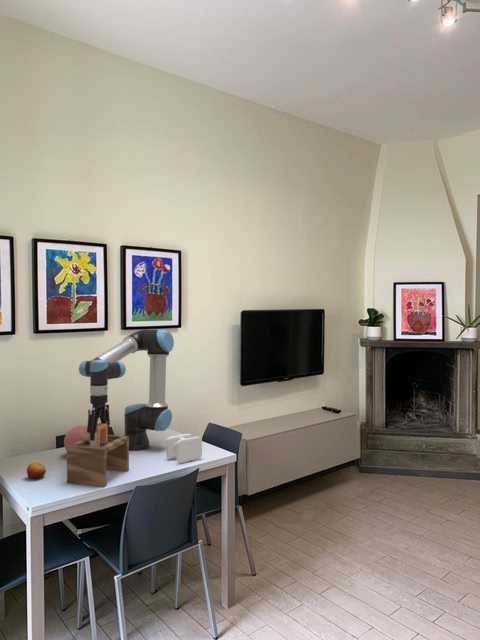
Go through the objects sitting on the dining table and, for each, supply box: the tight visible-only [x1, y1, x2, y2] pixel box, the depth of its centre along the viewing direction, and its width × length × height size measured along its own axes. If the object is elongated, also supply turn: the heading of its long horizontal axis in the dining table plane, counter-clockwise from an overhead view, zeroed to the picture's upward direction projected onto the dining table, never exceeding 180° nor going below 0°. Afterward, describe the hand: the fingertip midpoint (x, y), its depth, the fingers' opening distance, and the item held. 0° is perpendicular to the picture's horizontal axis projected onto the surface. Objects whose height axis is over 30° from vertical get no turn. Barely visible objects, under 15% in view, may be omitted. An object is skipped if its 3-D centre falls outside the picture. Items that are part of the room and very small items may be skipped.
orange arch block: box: [95, 422, 109, 448], centre depth 214 cm, size 4×8×10 cm, turn 165°
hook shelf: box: [66, 434, 130, 488], centre depth 214 cm, size 22×18×16 cm
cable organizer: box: [165, 433, 203, 464], centre depth 239 cm, size 15×11×12 cm
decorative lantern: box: [63, 425, 90, 451], centre depth 243 cm, size 15×20×15 cm
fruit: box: [26, 461, 47, 480], centre depth 212 cm, size 8×8×8 cm
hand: (98, 444), depth 214 cm, fingers closed on orange arch block, 8 cm apart
